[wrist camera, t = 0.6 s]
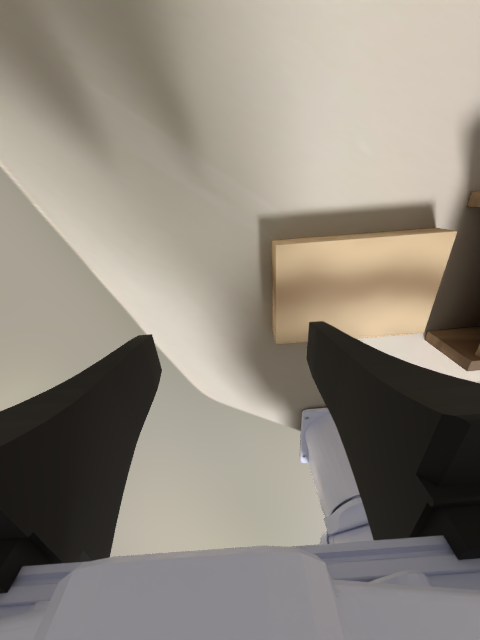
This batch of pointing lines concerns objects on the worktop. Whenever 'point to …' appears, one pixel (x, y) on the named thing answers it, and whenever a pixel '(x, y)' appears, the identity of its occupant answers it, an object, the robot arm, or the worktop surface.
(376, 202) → the worktop surface
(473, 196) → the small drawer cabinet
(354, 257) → the board
